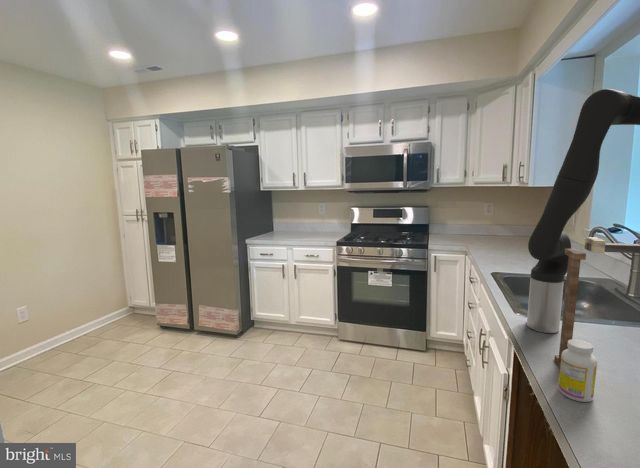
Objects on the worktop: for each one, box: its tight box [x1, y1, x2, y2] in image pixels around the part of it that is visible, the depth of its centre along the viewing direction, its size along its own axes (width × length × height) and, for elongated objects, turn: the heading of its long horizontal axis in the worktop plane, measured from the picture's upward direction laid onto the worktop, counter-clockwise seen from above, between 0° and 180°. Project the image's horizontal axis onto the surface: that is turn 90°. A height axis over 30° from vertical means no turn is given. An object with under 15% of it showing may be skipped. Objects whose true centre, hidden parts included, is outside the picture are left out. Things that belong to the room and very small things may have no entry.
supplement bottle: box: [558, 338, 598, 403], centre depth 79 cm, size 7×7×13 cm
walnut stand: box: [554, 248, 587, 368], centre depth 89 cm, size 6×2×32 cm, turn 162°
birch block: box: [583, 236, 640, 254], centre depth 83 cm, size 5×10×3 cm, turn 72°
